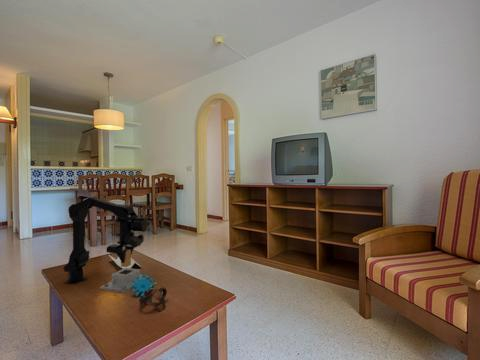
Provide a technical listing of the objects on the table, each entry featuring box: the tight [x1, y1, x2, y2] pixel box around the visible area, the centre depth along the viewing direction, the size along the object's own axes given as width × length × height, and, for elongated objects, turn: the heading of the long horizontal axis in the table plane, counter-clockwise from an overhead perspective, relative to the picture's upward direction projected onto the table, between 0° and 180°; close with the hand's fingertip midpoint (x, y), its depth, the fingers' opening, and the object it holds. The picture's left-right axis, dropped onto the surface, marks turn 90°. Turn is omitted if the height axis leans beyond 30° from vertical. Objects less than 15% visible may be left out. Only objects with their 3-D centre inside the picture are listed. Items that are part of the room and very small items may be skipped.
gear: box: [131, 273, 157, 298], centre depth 112 cm, size 11×6×10 cm
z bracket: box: [108, 254, 144, 270], centre depth 147 cm, size 12×25×6 cm
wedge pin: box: [121, 249, 132, 267], centre depth 121 cm, size 3×3×8 cm
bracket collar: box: [99, 268, 148, 294], centre depth 122 cm, size 14×18×6 cm
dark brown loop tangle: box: [138, 287, 168, 312], centre depth 100 cm, size 12×10×8 cm
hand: (125, 261), depth 121 cm, fingers closed on wedge pin, 3 cm apart
